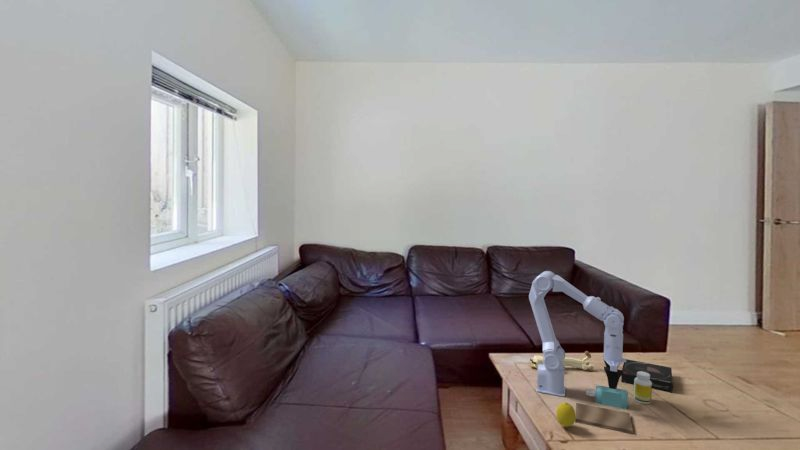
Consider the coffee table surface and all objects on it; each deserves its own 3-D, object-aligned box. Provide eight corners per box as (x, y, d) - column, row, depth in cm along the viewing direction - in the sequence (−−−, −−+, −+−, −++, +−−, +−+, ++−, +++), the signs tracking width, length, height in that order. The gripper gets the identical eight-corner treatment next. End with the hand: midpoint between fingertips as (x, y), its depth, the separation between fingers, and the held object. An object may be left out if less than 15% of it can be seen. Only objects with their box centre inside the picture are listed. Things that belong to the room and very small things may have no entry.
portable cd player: (670, 376, 163) (671, 367, 163) (672, 394, 149) (672, 383, 148) (624, 367, 172) (624, 358, 171) (621, 383, 157) (621, 373, 157)
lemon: (552, 422, 129) (553, 398, 129) (569, 421, 130) (570, 397, 129) (561, 432, 124) (561, 407, 123) (578, 431, 124) (579, 406, 124)
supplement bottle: (653, 405, 140) (654, 377, 139) (636, 403, 141) (637, 376, 140) (647, 397, 145) (648, 371, 145) (631, 396, 146) (632, 369, 146)
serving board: (575, 421, 130) (575, 418, 130) (576, 405, 140) (576, 402, 140) (632, 433, 123) (632, 430, 123) (629, 416, 133) (629, 413, 133)
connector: (585, 401, 143) (586, 387, 142) (585, 396, 146) (586, 383, 146) (628, 409, 137) (628, 395, 137) (627, 404, 141) (627, 390, 140)
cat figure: (584, 367, 174) (526, 361, 176) (587, 347, 174) (528, 341, 175) (594, 377, 165) (532, 371, 166) (597, 356, 164) (534, 350, 165)
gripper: (628, 354, 131) (627, 395, 132) (624, 340, 144) (623, 377, 145) (603, 351, 134) (602, 391, 135) (602, 337, 147) (601, 373, 148)
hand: (612, 383), depth 140 cm, fingers open, 7 cm apart
